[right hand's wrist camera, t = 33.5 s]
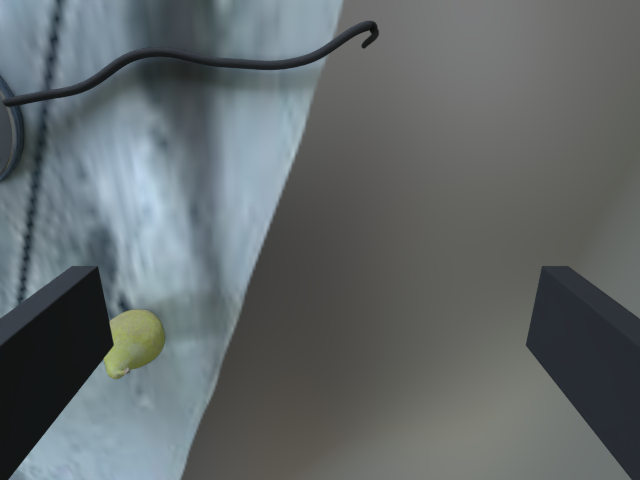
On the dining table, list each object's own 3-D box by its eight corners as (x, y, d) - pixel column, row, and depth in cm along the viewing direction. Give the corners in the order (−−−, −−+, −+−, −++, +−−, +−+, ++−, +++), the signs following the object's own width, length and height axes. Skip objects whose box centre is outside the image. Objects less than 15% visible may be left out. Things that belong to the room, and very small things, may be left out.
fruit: (106, 318, 51) (45, 383, 40) (150, 286, 50) (101, 345, 38) (144, 355, 53) (96, 427, 42) (188, 325, 52) (151, 393, 40)
